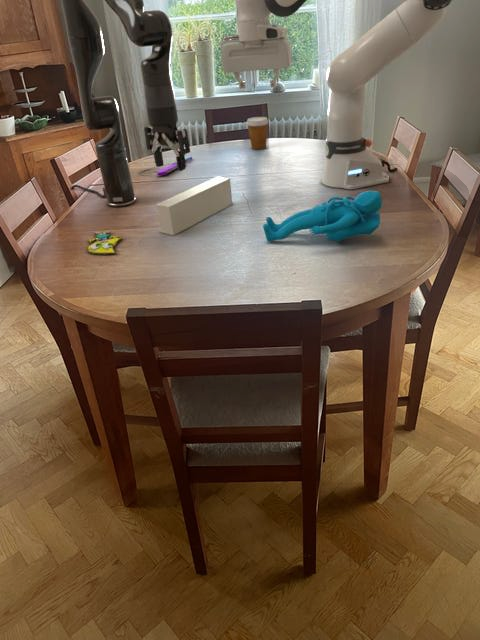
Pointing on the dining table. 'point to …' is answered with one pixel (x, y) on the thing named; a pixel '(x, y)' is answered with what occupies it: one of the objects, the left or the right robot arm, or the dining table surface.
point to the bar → (194, 205)
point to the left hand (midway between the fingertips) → (170, 168)
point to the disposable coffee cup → (257, 131)
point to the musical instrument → (166, 168)
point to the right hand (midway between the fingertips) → (258, 87)
